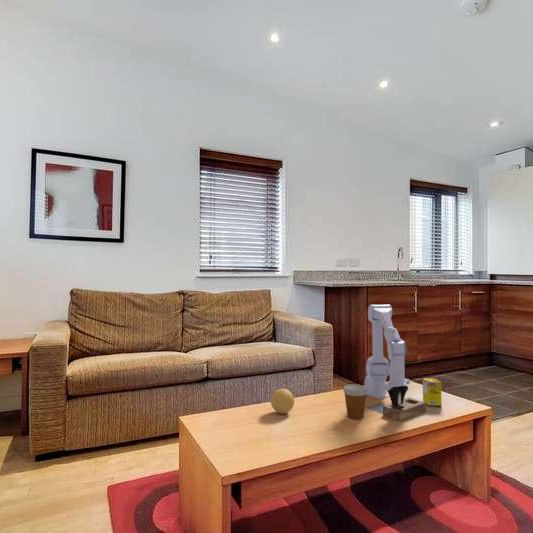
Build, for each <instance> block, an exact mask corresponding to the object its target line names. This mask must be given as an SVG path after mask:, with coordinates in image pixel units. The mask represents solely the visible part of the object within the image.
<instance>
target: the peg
mask: <svg viewBox="0 0 533 533" xmlns="http://www.w3.org/2000/svg"><path fill="white" fill-rule="evenodd" d="M398 390H400V389H398ZM393 408H396V409H401V391H400V393H399V397H398V406H394V405H393Z"/></svg>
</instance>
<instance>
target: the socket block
mask: <svg viewBox="0 0 533 533" xmlns="http://www.w3.org/2000/svg"><path fill="white" fill-rule="evenodd" d="M425 412H427V405H426V402H423V400H420V399H416V398H413V397H404V401H403V404H401V409H396V408H393V405H392V402H390V403H389V404H385V406H383V414H382V416H384V417H387V418H390V419H392V420H395V421H398V422H403V421H404V420H407V419H411V418H413V417H415V416H418V415H420V414H422V413H425Z"/></svg>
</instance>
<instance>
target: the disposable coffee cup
mask: <svg viewBox="0 0 533 533" xmlns="http://www.w3.org/2000/svg"><path fill="white" fill-rule="evenodd" d="M343 393H344V399H345V408H346V416H347V417H348V418H349V419H351V420H363V418H364V417H365V416H364V415H365V409H366V408H365V407H366V397H367V395H366V394H367V390H366V387H365V385H361V384H353V383H352V384H350V383H349V384H345V385H344V388H343Z"/></svg>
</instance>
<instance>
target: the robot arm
mask: <svg viewBox="0 0 533 533" xmlns="http://www.w3.org/2000/svg"><path fill="white" fill-rule="evenodd" d="M392 316H393V308H392V305H391V304H370V305H368V307H367V319H368V321H369V322H371V326H372V328H371V330H372V332H371V334H372V335H371V336H372V338H371V339H372V355H371V356H370V357H369V358H367V360H366V367H365V370H366V374H367V375H366V376H365V379H364V387H366V390H367V394H366V396H369V397H372V398H375V399H378V400H382V399H385V398H388V397H390V403H392V405H394V406H398V397H399V393H400V391H401V404H403V401H404V399H405V398H406V397H405V396H406V394H407V392H408V391H409V386H408V385H410V382H411V380H410V379H409V378H405V372H406V371H405V356H406V355H407V354H408V348H407V344H406V341H404V340H403V339H401V337H400V334H399V331H398V329H397V328H395V327H394V325H393V321H392ZM383 329H384V330H383ZM383 338H384V339H385V341H386V343H387V347H386V348H387V350H386V351H387V355H388V359H389V360H388V359H387V358H385V357H384V339H383ZM388 377H389V381H388V382H387V379H388ZM398 389H400V390H398Z"/></svg>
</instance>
